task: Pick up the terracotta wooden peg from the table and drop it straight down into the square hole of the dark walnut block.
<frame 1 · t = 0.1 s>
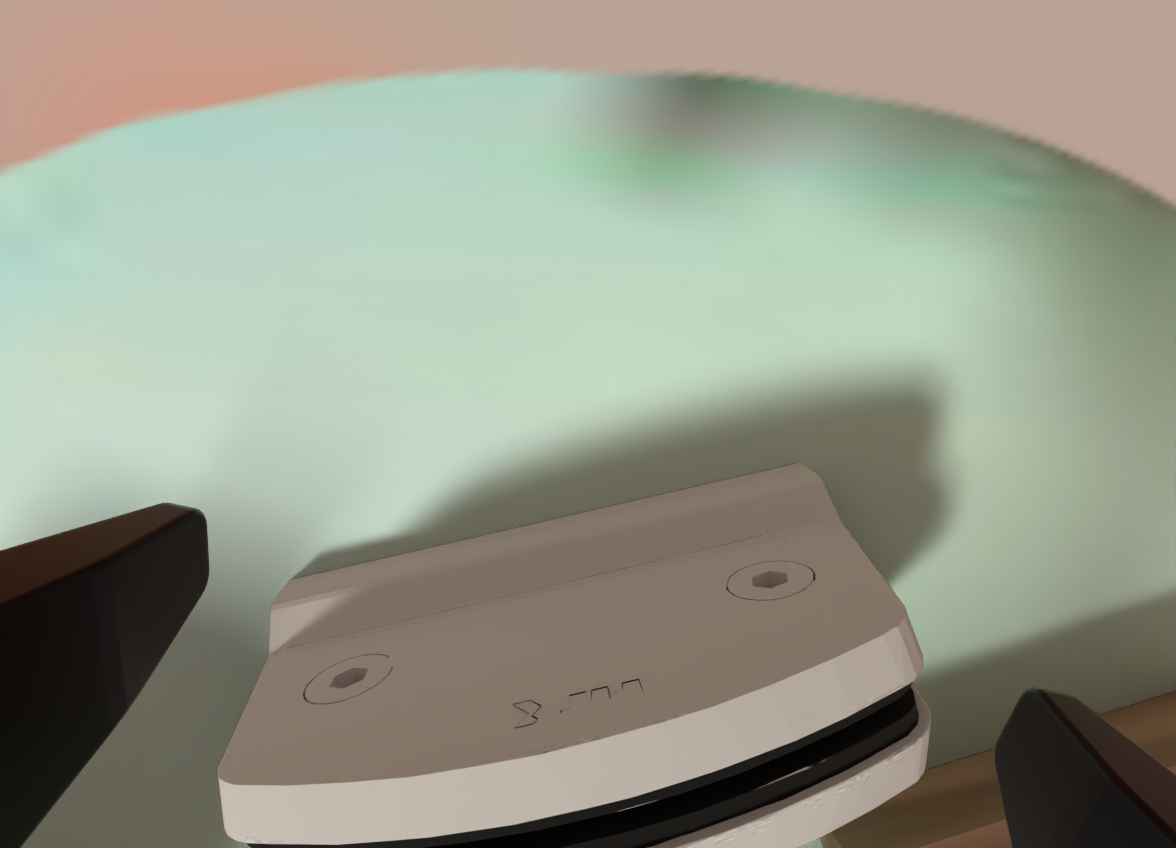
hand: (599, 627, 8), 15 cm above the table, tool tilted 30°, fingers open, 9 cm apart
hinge: (575, 647, 23), on the table
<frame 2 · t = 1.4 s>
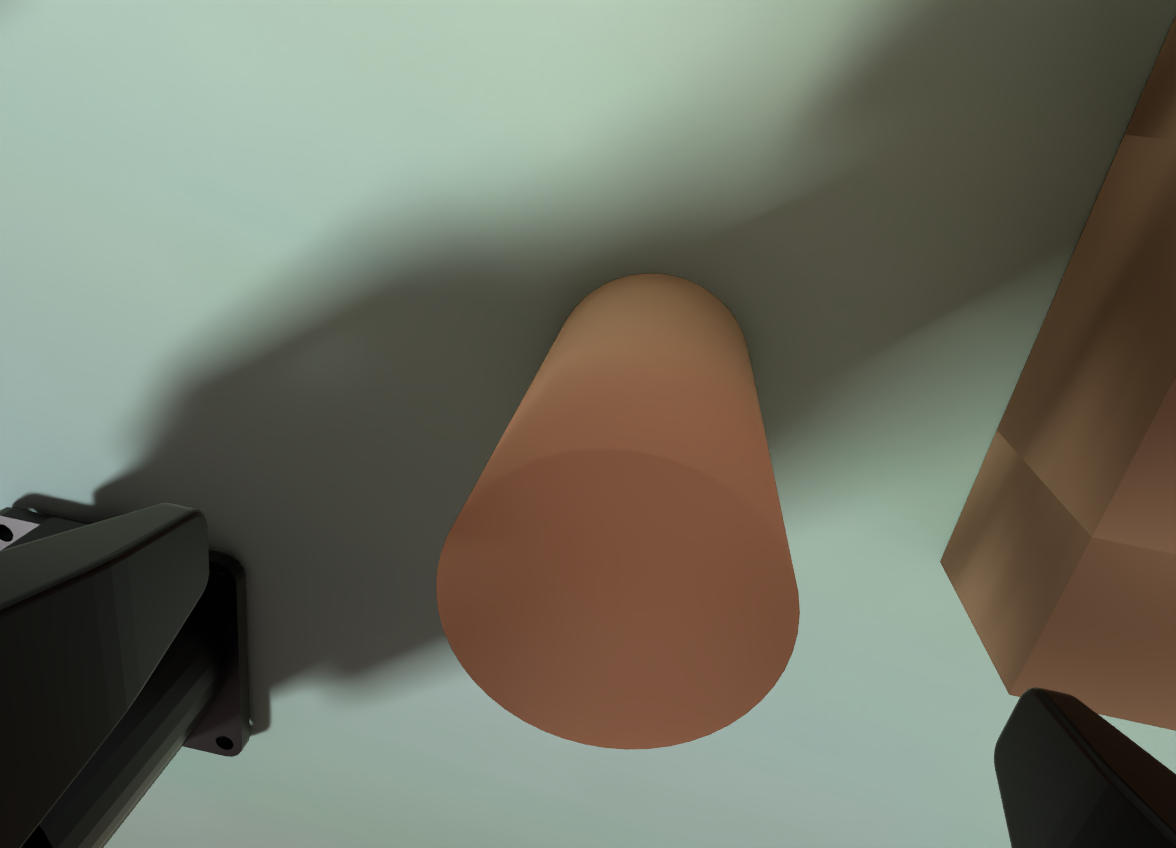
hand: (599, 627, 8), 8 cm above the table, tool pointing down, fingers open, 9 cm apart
peg: (650, 370, 16), on the table
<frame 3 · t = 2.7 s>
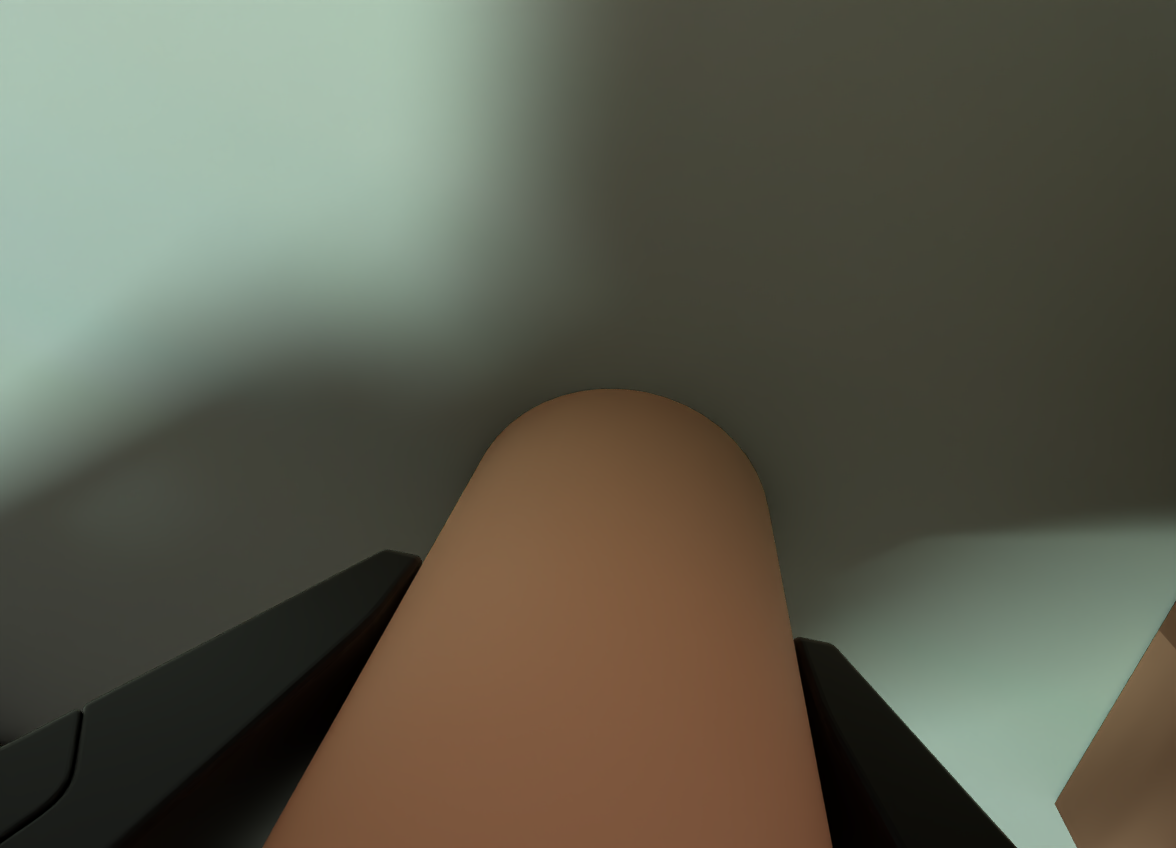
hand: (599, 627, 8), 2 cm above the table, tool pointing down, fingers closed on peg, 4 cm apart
peg: (615, 529, 10), on the table, touching gripper
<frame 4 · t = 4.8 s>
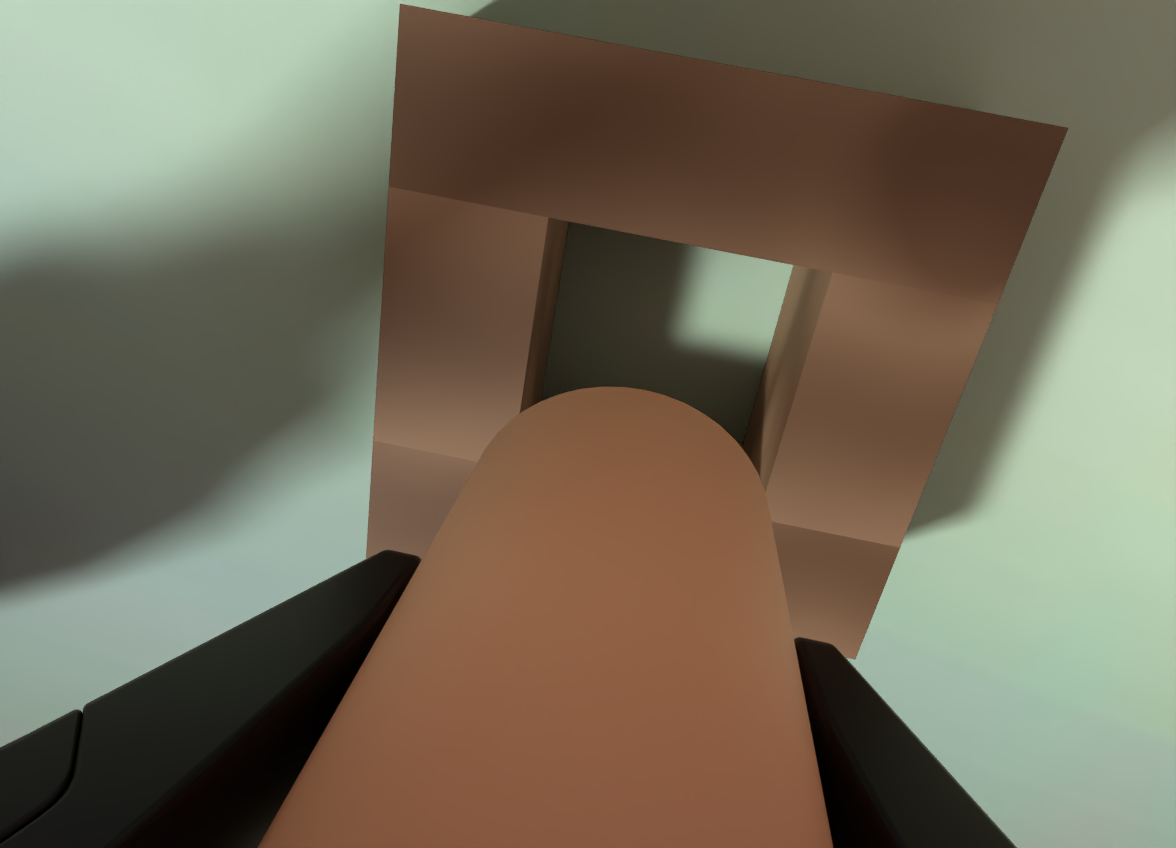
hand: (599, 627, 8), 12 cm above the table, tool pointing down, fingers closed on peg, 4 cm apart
peg: (615, 528, 10), point 10 cm above the table, touching gripper
hole block: (662, 325, 20), on the table
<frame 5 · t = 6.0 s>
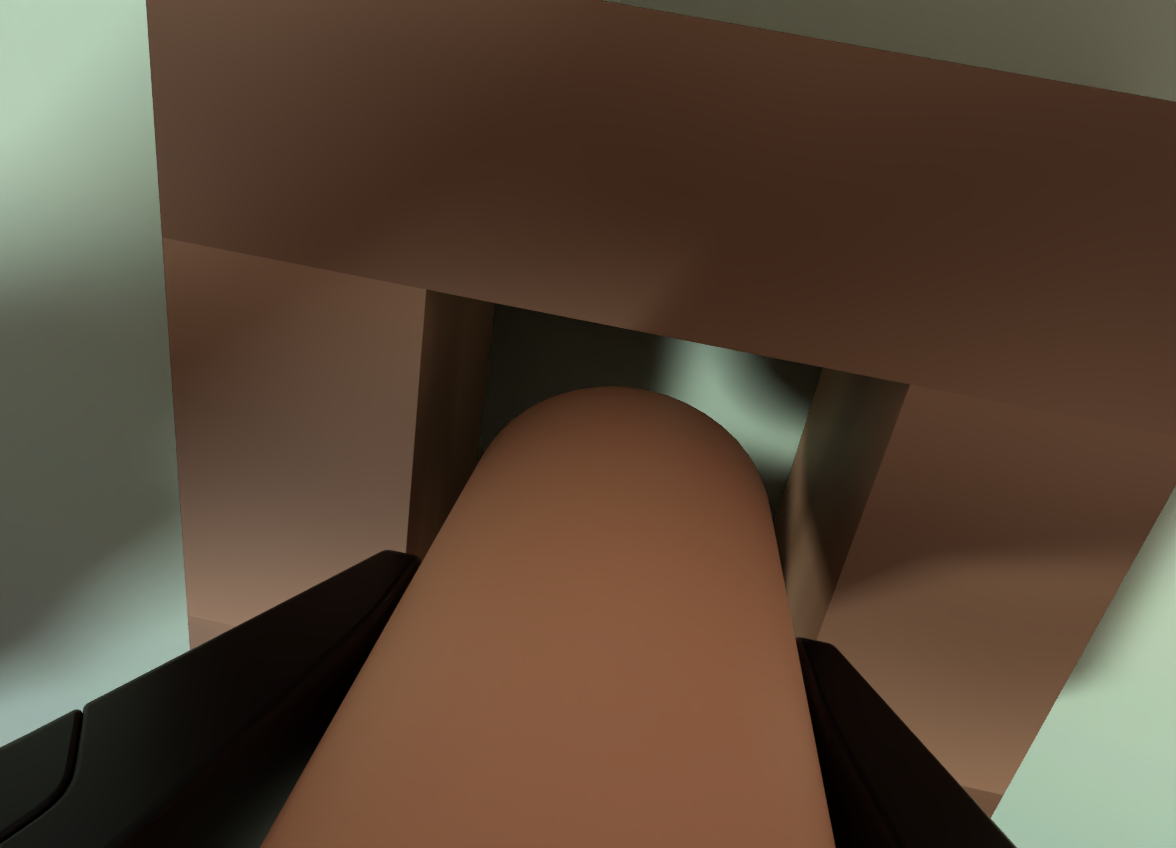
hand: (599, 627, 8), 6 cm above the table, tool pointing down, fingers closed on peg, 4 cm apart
peg: (616, 528, 10), point 4 cm above the table, touching gripper
hole block: (639, 419, 13), on the table
when the fingers open (5 cm above the table, at t = 6.9 s): peg drops 3 cm, resting in hole block.
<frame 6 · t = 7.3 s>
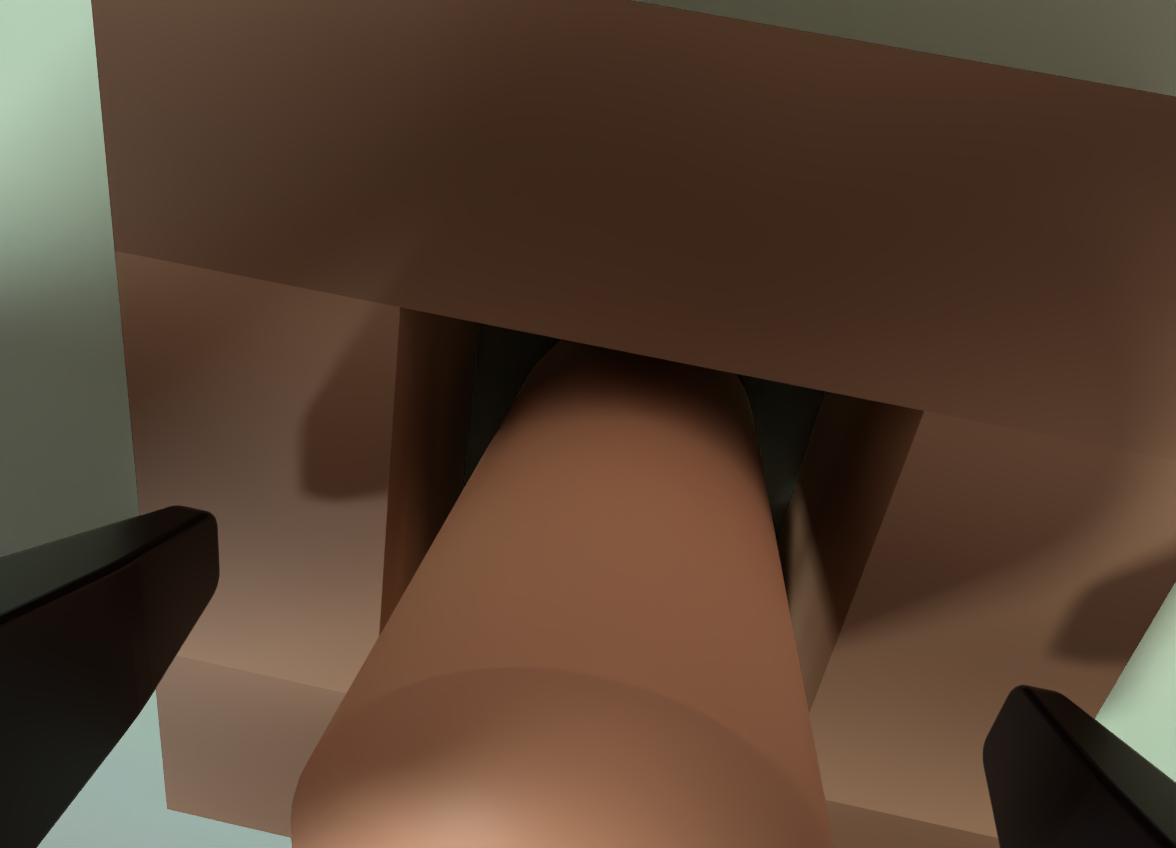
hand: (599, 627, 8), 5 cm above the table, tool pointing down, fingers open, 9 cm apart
peg: (632, 434, 13), resting in hole block
hole block: (633, 437, 13), on the table
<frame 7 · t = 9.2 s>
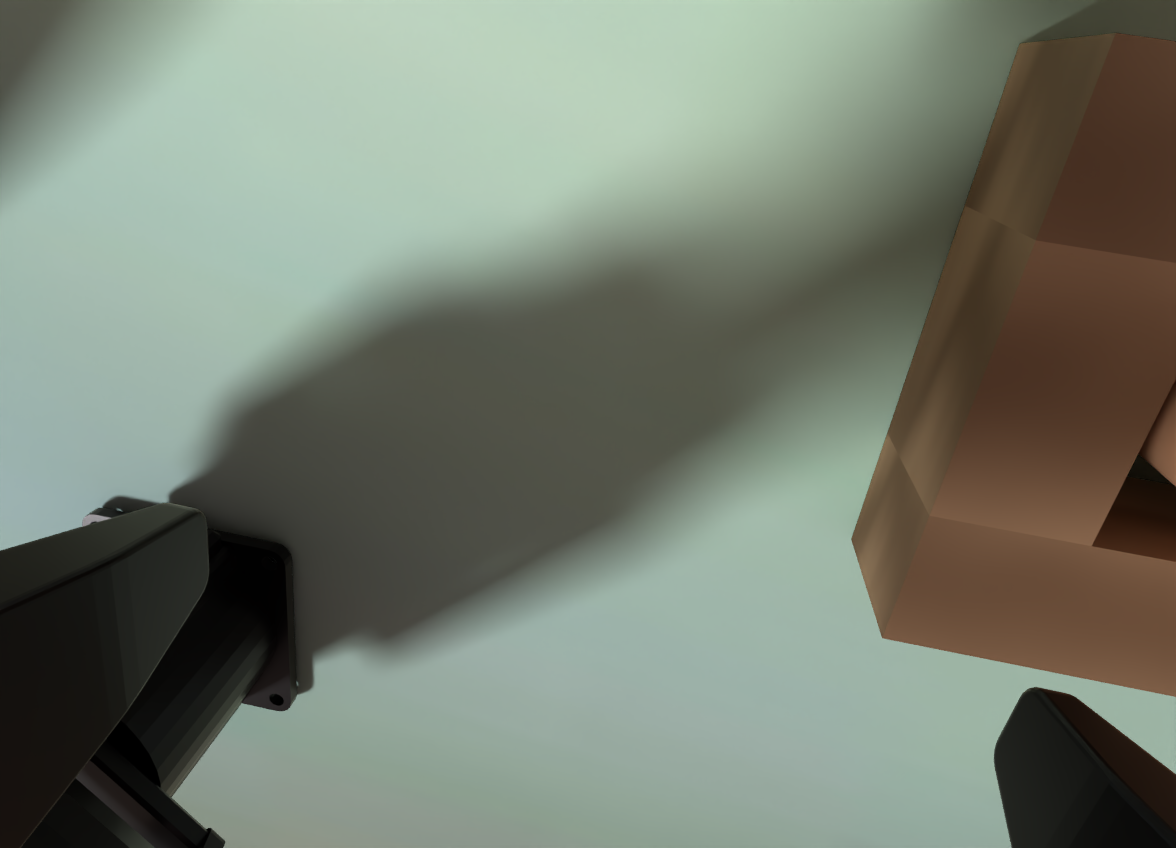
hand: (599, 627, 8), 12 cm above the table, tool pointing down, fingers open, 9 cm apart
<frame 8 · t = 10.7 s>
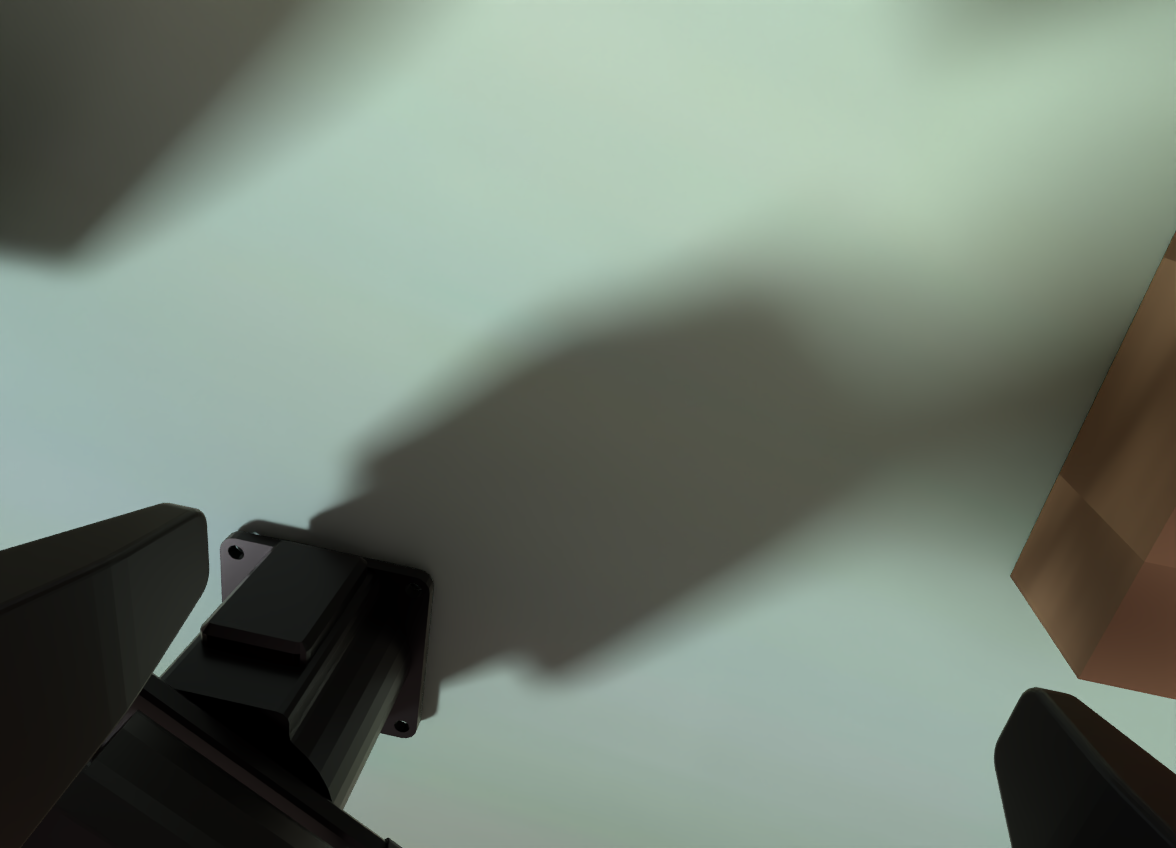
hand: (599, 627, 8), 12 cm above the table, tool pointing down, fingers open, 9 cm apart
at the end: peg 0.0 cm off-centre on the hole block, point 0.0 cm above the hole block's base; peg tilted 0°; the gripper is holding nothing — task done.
